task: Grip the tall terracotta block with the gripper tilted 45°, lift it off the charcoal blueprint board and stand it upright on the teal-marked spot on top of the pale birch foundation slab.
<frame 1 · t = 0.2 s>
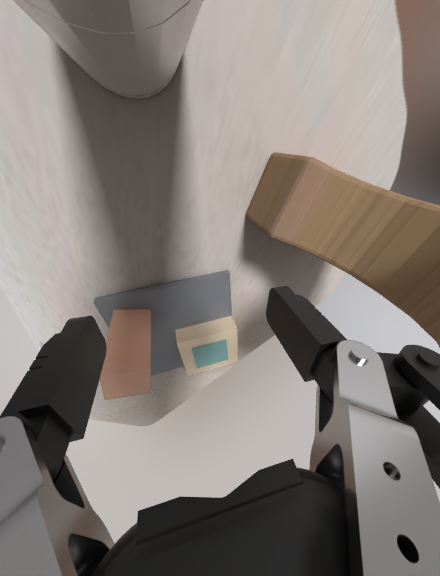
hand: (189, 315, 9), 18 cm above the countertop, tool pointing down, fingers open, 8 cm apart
terracotta block: (133, 321, 30), point 1 cm above the countertop, touching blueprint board
decorative block: (300, 204, 27), on the countertop
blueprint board: (178, 328, 35), on the countertop
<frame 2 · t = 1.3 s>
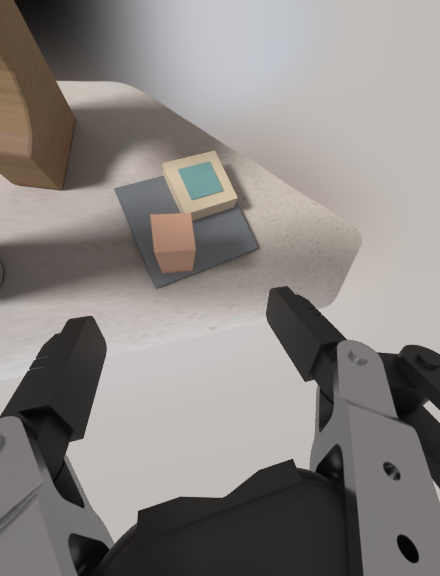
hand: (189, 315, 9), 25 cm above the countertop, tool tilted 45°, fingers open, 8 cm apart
terracotta block: (175, 258, 34), point 1 cm above the countertop, touching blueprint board
decorative block: (47, 151, 35), on the countertop
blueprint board: (188, 222, 37), on the countertop
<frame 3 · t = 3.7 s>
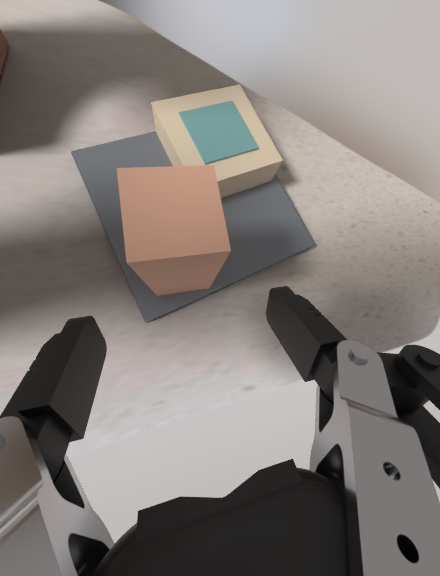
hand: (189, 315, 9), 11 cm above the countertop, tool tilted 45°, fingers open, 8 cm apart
terracotta block: (180, 267, 20), point 1 cm above the countertop, touching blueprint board
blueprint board: (199, 206, 22), on the countertop
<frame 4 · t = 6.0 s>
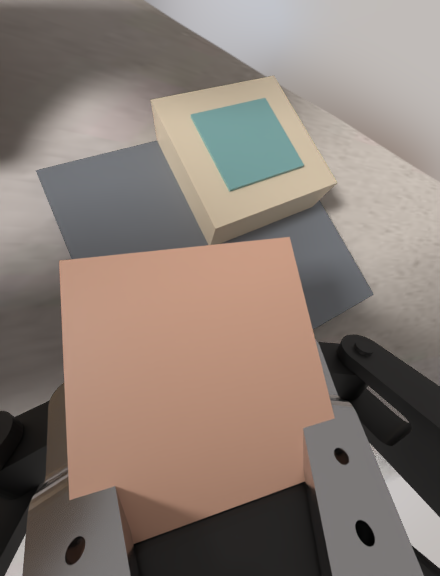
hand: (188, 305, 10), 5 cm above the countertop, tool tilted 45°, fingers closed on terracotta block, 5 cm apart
terracotta block: (192, 338, 14), point 1 cm above the countertop, touching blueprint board, gripper
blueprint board: (216, 242, 16), on the countertop
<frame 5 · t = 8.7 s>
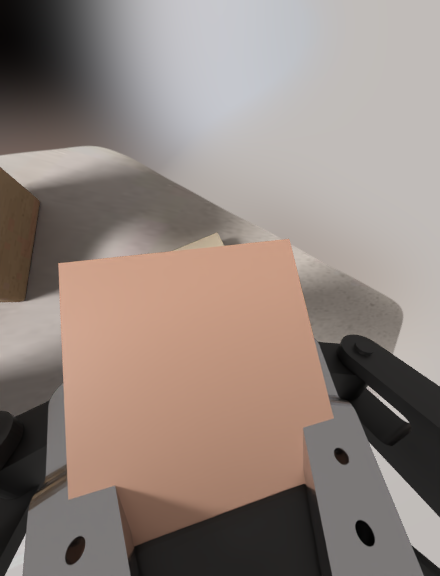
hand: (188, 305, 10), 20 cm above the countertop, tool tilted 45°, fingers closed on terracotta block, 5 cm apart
terracotta block: (192, 339, 14), point 16 cm above the countertop, touching gripper
decorative block: (4, 248, 27), on the countertop
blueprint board: (188, 322, 29), on the countertop
when the fingers open (10 cm above the countertop, at t = 11.6 s): terracotta block drops 1 cm, resting on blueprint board.
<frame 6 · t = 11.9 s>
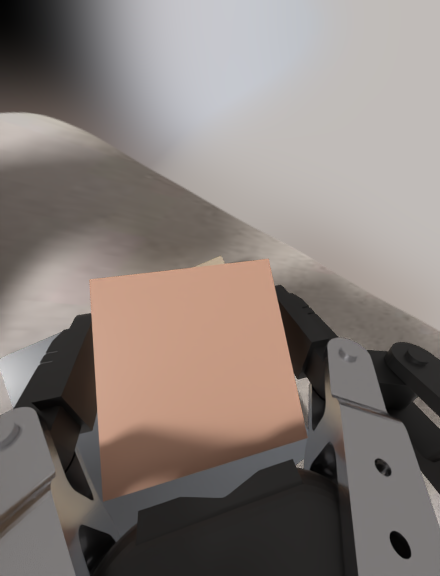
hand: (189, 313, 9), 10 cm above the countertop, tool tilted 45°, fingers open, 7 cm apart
terracotta block: (191, 338, 15), point 4 cm above the countertop, touching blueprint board
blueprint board: (170, 403, 18), on the countertop
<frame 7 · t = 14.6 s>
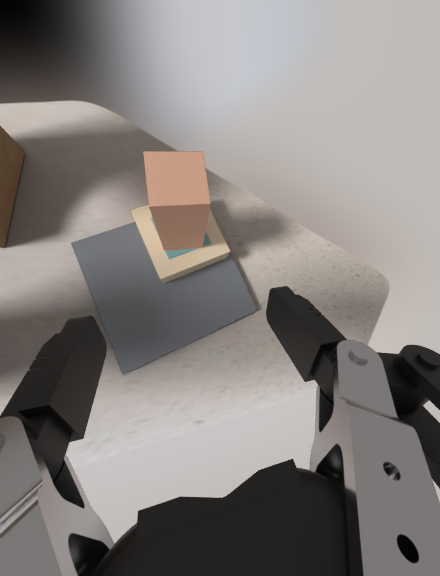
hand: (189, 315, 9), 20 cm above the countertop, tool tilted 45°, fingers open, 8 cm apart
terracotta block: (181, 231, 26), point 4 cm above the countertop, touching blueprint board
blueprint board: (169, 279, 29), on the countertop
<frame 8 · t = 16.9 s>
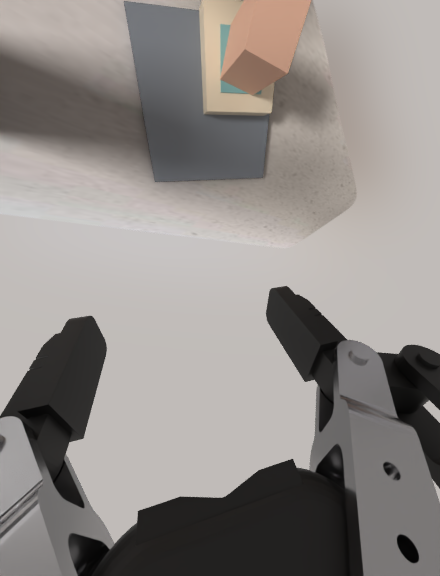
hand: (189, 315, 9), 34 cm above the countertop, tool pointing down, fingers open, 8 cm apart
terracotta block: (242, 62, 26), point 4 cm above the countertop, touching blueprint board
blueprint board: (208, 111, 32), on the countertop
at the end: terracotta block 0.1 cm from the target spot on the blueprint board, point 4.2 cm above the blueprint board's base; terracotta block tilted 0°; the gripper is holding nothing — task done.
